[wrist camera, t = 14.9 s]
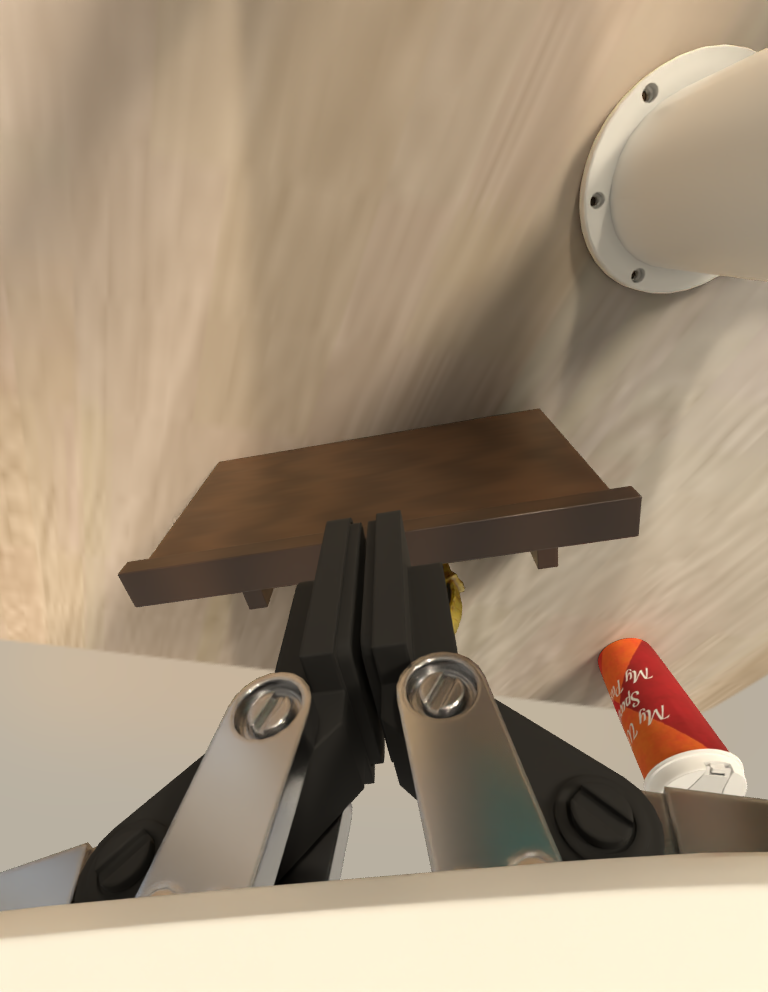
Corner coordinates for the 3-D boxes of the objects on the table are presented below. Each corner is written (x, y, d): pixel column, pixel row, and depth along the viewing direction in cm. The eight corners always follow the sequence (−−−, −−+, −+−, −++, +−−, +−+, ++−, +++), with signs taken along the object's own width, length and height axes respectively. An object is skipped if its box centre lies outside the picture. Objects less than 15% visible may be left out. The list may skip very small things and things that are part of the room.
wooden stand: (550, 401, 37) (642, 496, 24) (552, 530, 43) (627, 666, 29) (207, 458, 39) (116, 574, 26) (252, 574, 45) (196, 718, 32)
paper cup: (601, 626, 48) (675, 761, 36) (675, 633, 49) (773, 769, 36) (576, 680, 52) (636, 819, 40) (645, 686, 52) (725, 826, 40)
